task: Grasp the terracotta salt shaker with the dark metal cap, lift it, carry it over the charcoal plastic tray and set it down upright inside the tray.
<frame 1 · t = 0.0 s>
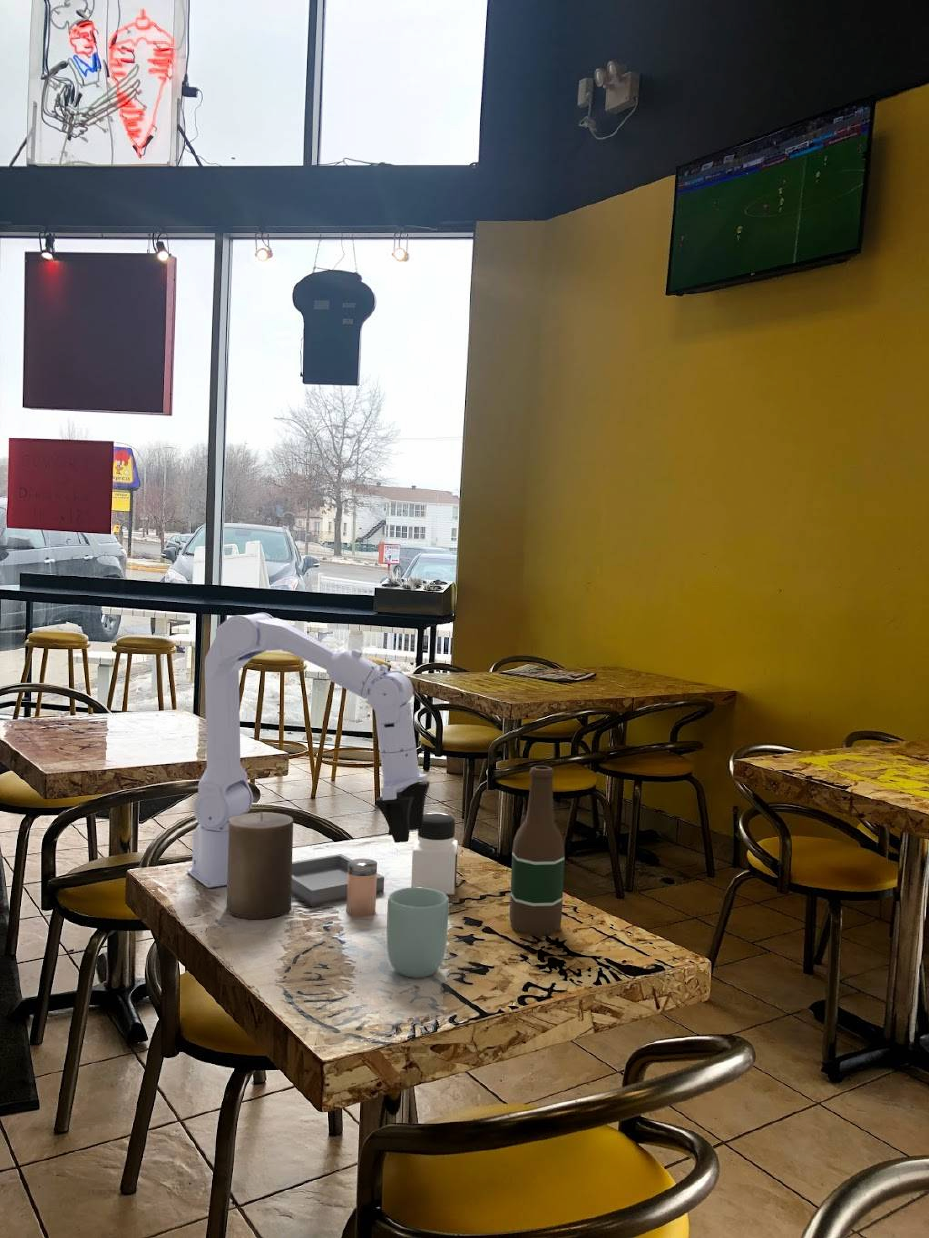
hand: (408, 835, 156), 11 cm above the table, tool pointing down, fingers open, 7 cm apart
beer bottle: (534, 927, 148), on the table
medicine bottle: (434, 888, 164), on the table
pillar candle: (258, 909, 151), on the table
tray: (326, 886, 162), on the table
cup: (415, 973, 130), on the table
salt shaker: (360, 911, 151), on the table
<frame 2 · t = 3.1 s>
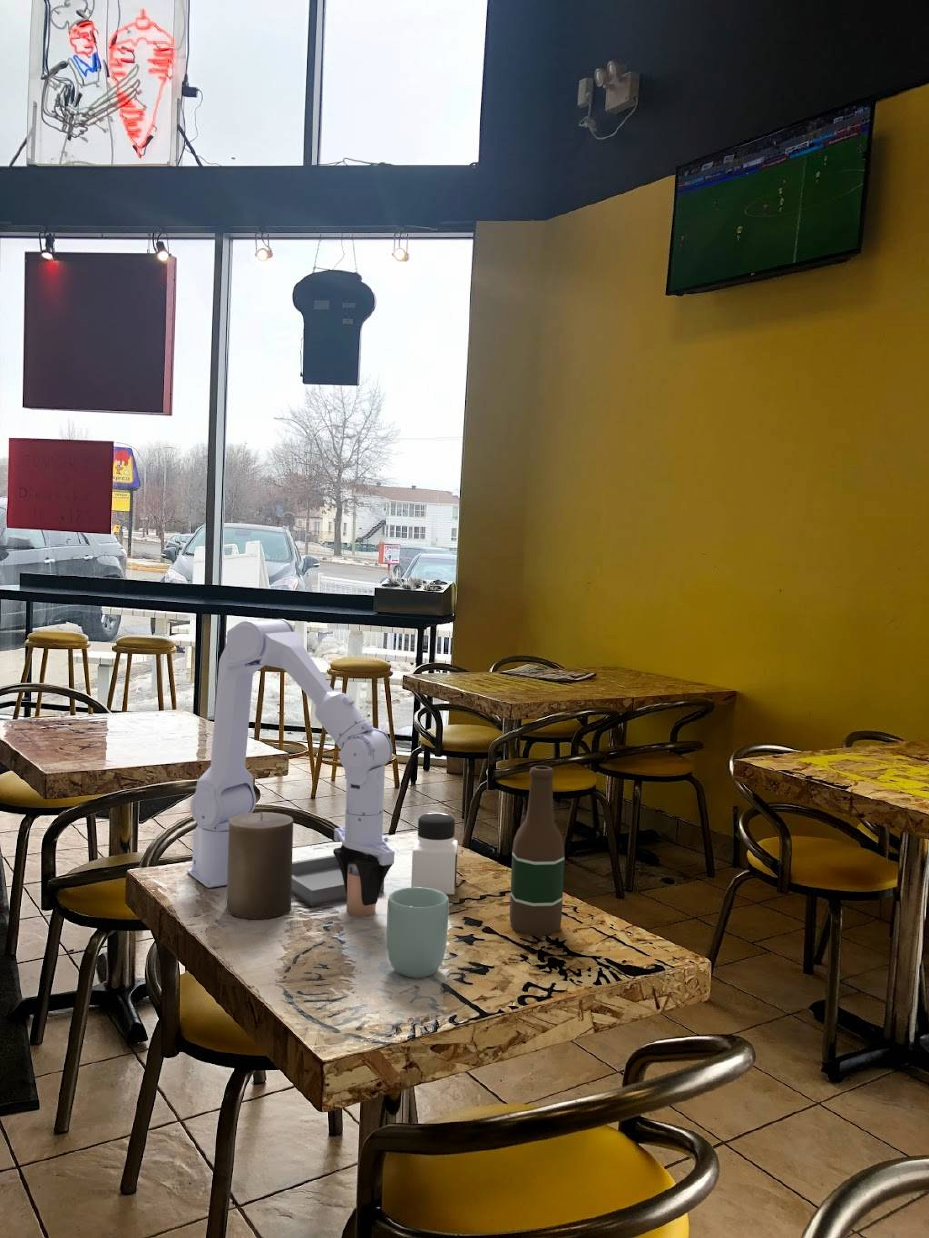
hand: (361, 898, 151), 2 cm above the table, tool pointing down, fingers closed on salt shaker, 4 cm apart
salt shaker: (360, 911, 151), on the table, touching gripper
everything else where it was.
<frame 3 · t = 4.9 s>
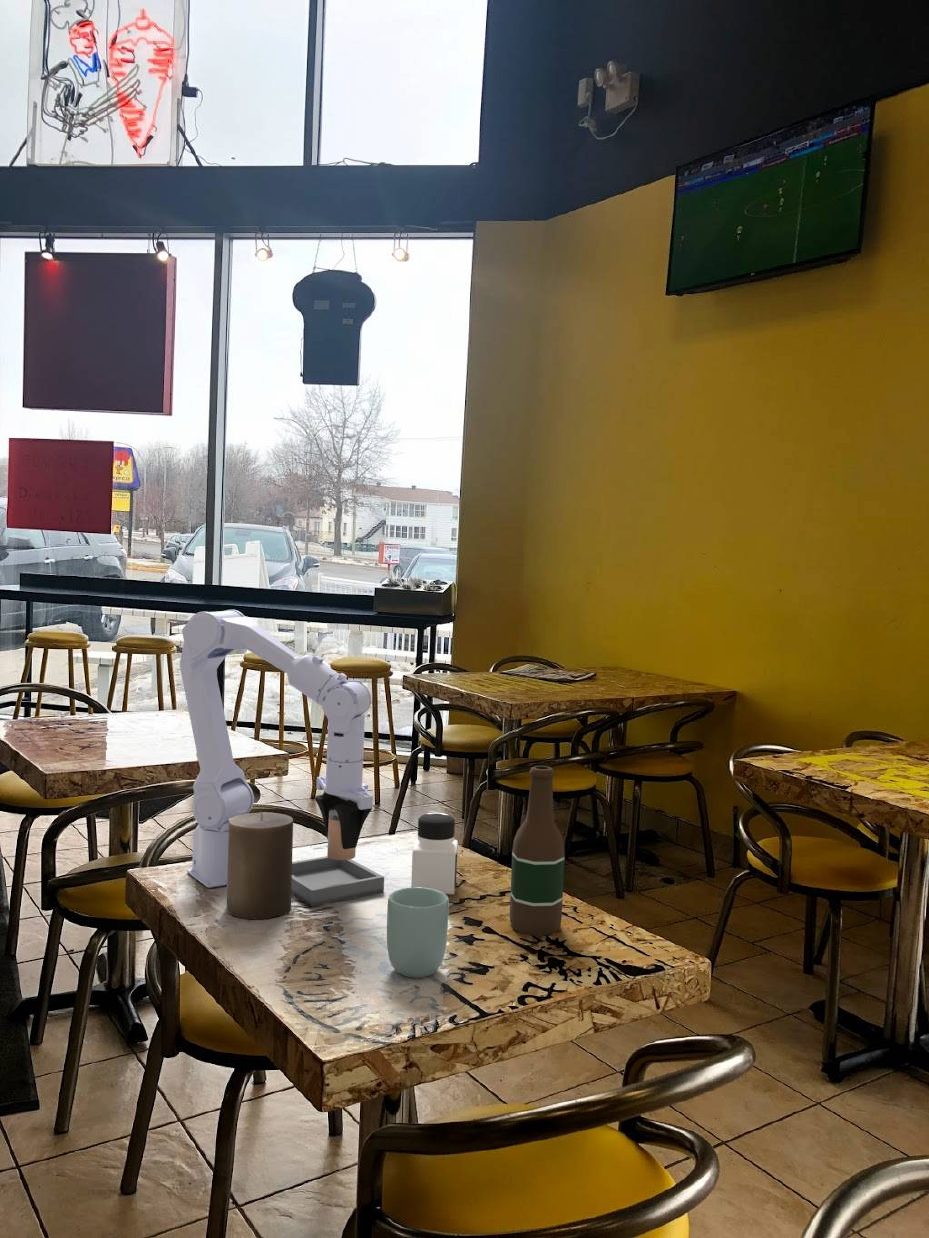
hand: (341, 843, 157), 8 cm above the table, tool pointing down, fingers closed on salt shaker, 4 cm apart
salt shaker: (341, 855, 157), point 7 cm above the table, touching gripper
everything else where it was.
when the fingers open (3 cm above the table, at t = 7.0 s): salt shaker stays where it is, resting on tray.
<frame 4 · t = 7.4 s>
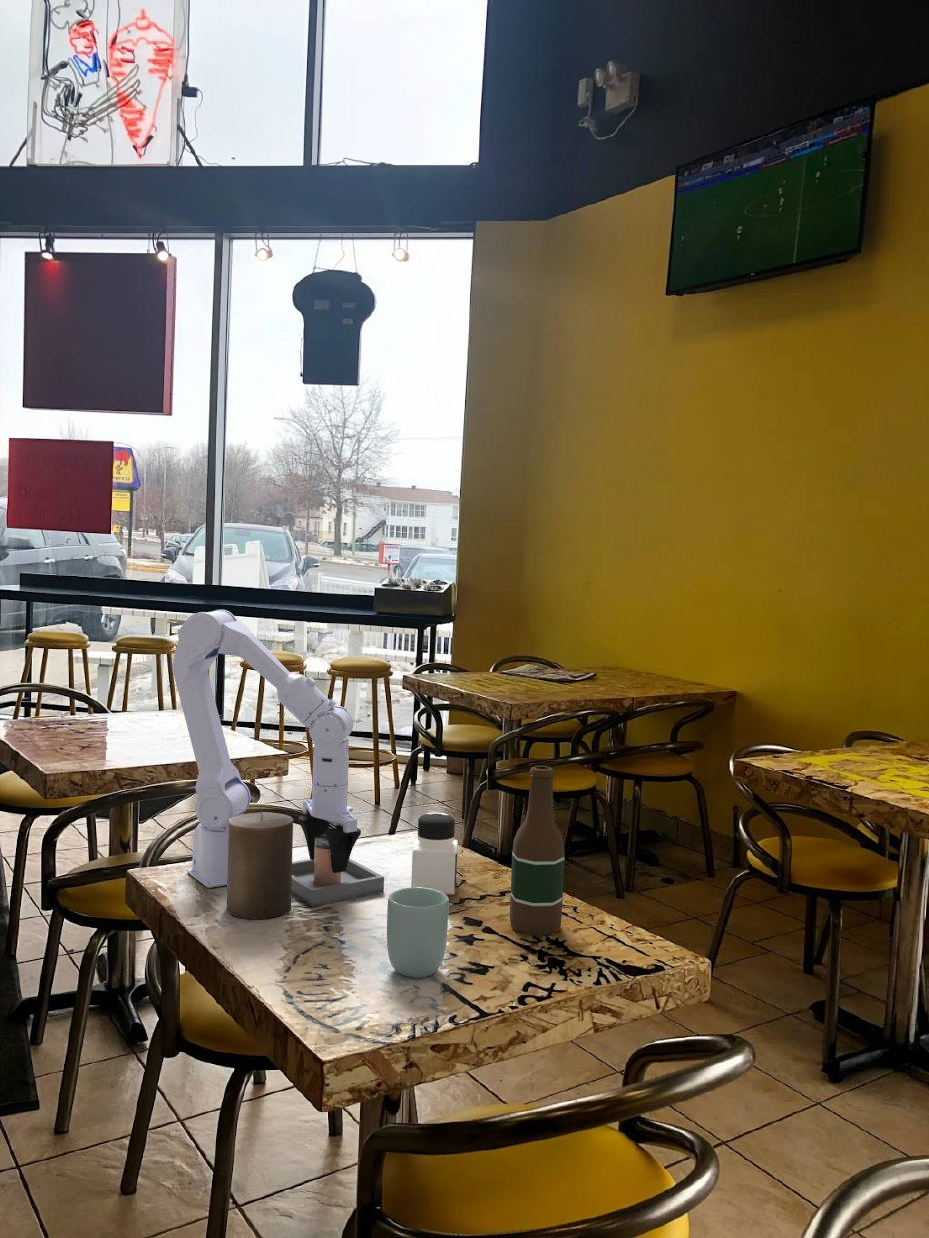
hand: (327, 865, 162), 4 cm above the table, tool pointing down, fingers open, 7 cm apart
salt shaker: (327, 882, 162), point 1 cm above the table, touching tray
everything else where it was.
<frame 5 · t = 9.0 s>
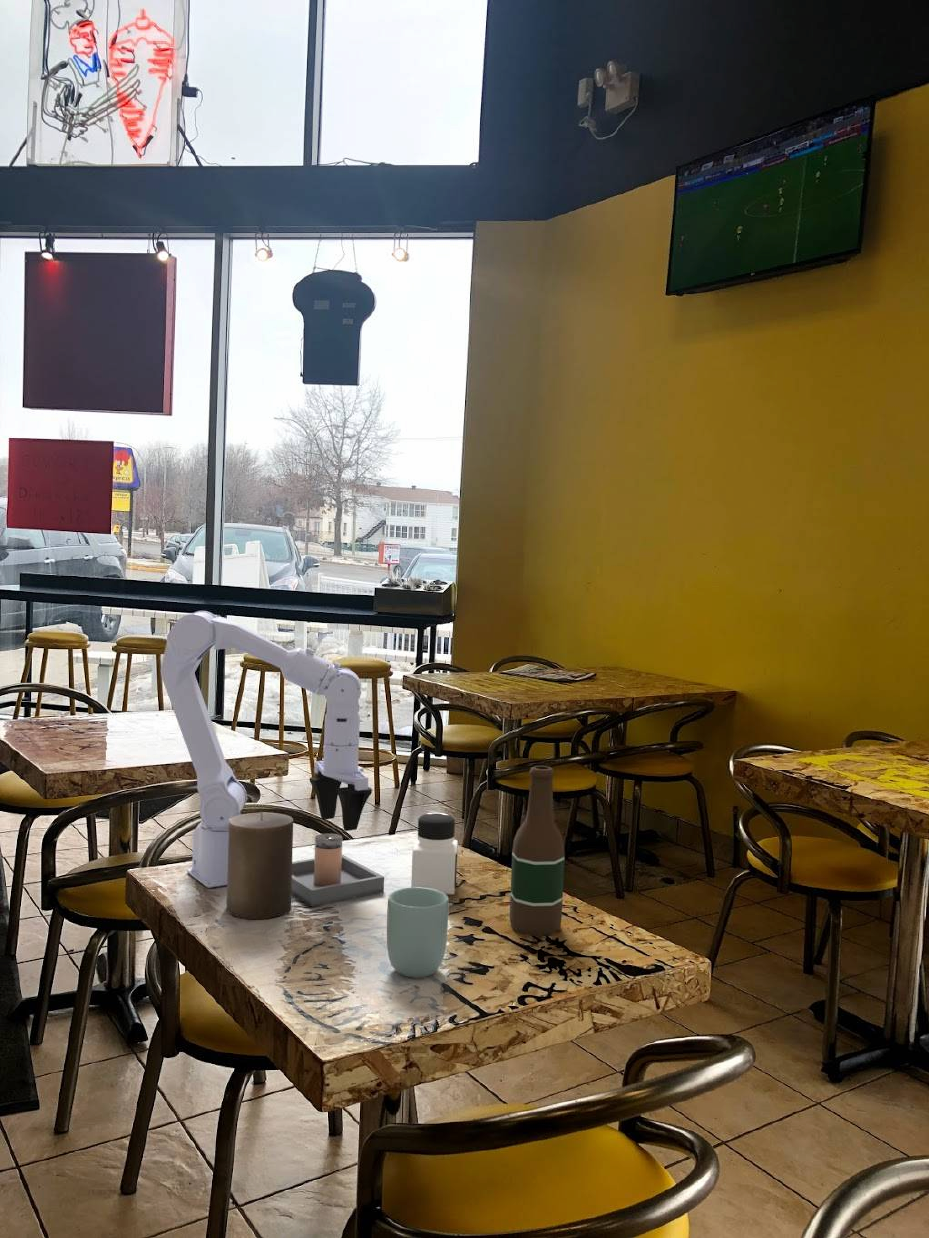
hand: (338, 824, 165), 9 cm above the table, tool pointing down, fingers open, 7 cm apart
nothing on the table moved.
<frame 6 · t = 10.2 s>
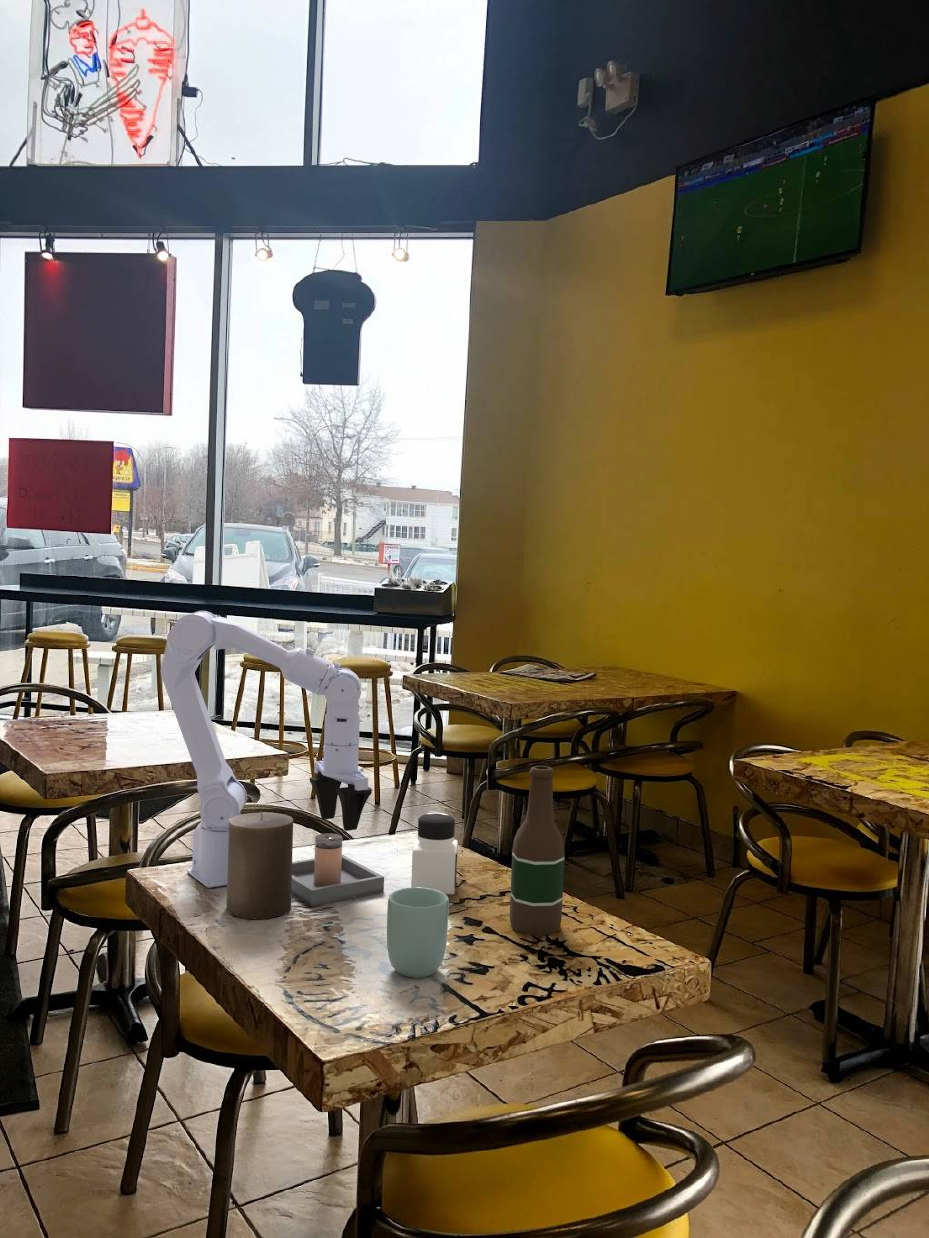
hand: (338, 824, 165), 9 cm above the table, tool pointing down, fingers open, 7 cm apart
nothing on the table moved.
at the end: salt shaker inside the target area on the tray (0.0 cm from its centre), point 0.6 cm above the tray's base; salt shaker tilted 0°; the gripper is holding nothing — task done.
